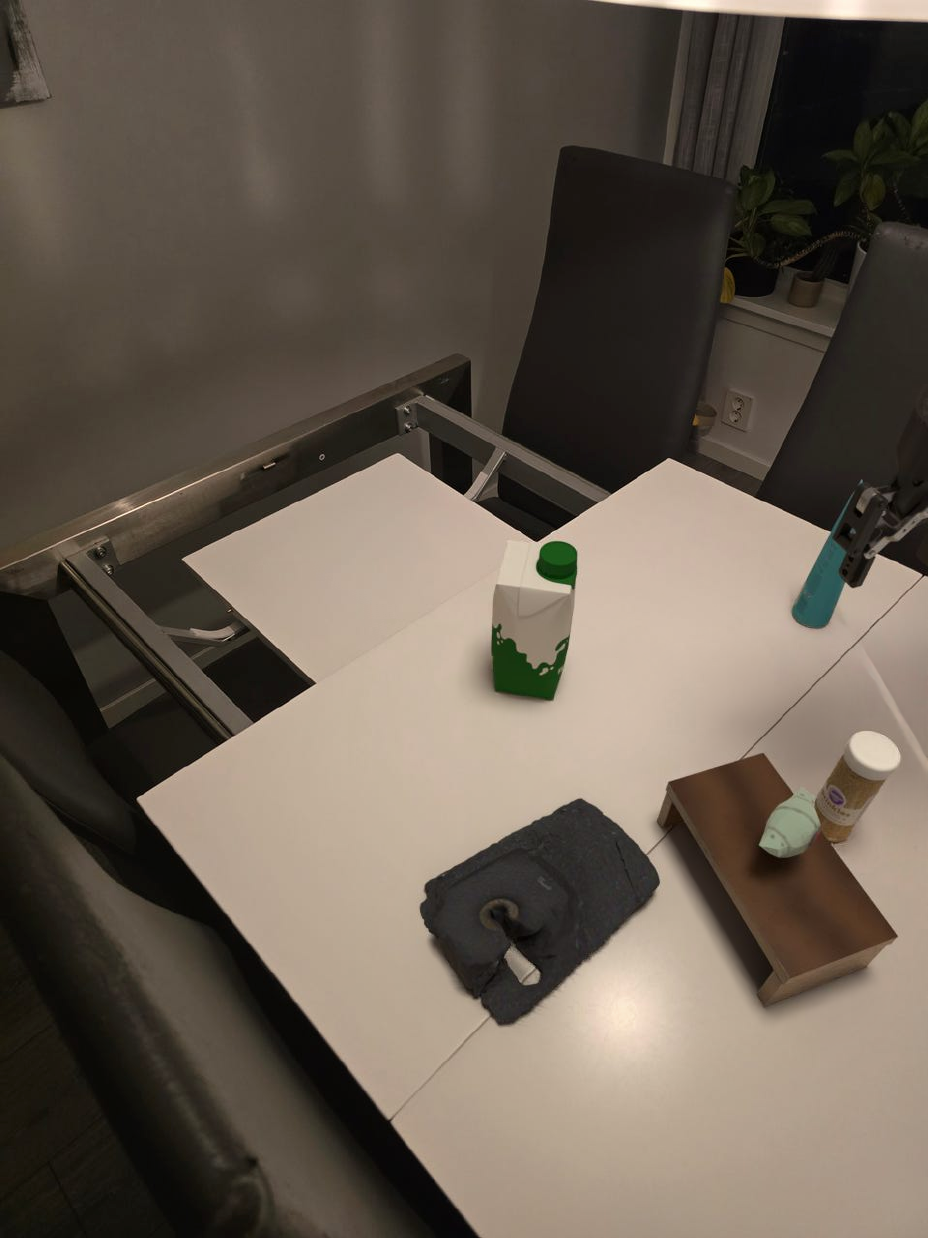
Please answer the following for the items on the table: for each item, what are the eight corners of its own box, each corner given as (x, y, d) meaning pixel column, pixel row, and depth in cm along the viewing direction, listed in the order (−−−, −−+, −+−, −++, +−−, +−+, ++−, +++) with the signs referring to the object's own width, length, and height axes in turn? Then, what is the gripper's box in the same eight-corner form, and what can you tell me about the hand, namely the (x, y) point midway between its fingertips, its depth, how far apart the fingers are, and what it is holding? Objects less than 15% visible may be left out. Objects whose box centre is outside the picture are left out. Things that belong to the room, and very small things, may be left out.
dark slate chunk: (681, 907, 76) (692, 884, 72) (492, 1039, 67) (493, 1020, 64) (583, 791, 85) (588, 766, 81) (405, 895, 76) (402, 872, 73)
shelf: (745, 790, 85) (763, 752, 80) (868, 968, 72) (898, 936, 67) (655, 818, 82) (668, 781, 77) (765, 1009, 69) (788, 979, 64)
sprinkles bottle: (797, 823, 82) (840, 747, 73) (819, 797, 84) (864, 720, 75) (837, 852, 80) (888, 778, 70) (859, 825, 82) (911, 749, 72)
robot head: (779, 809, 75) (800, 769, 70) (819, 835, 73) (844, 796, 69) (738, 866, 71) (757, 828, 66) (780, 895, 69) (803, 858, 64)
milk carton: (559, 708, 93) (576, 583, 79) (484, 695, 94) (488, 571, 80) (567, 654, 99) (585, 530, 85) (497, 643, 100) (503, 519, 86)
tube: (833, 637, 101) (890, 518, 88) (794, 632, 102) (845, 514, 88) (825, 598, 106) (878, 481, 93) (788, 594, 107) (835, 476, 93)
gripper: (929, 455, 55) (849, 617, 67) (1083, 420, 59) (982, 580, 70) (859, 403, 60) (796, 562, 72) (1004, 374, 64) (922, 531, 75)
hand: (888, 571), depth 71 cm, fingers open, 8 cm apart
